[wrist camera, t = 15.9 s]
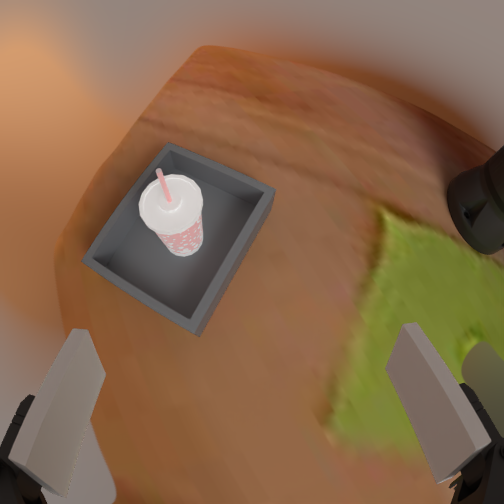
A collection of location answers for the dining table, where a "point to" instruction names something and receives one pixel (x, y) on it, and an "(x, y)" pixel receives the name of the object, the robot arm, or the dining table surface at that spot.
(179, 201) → the beverage cup
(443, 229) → the dining table surface
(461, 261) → the dining table surface
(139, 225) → the tote
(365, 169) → the dining table surface
